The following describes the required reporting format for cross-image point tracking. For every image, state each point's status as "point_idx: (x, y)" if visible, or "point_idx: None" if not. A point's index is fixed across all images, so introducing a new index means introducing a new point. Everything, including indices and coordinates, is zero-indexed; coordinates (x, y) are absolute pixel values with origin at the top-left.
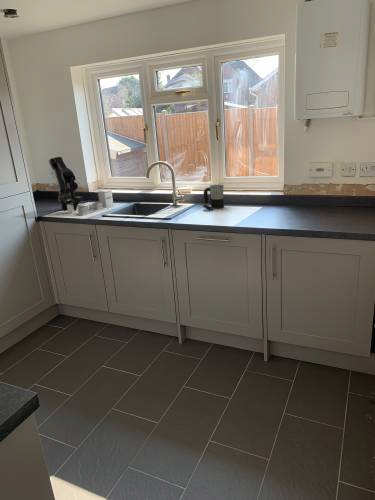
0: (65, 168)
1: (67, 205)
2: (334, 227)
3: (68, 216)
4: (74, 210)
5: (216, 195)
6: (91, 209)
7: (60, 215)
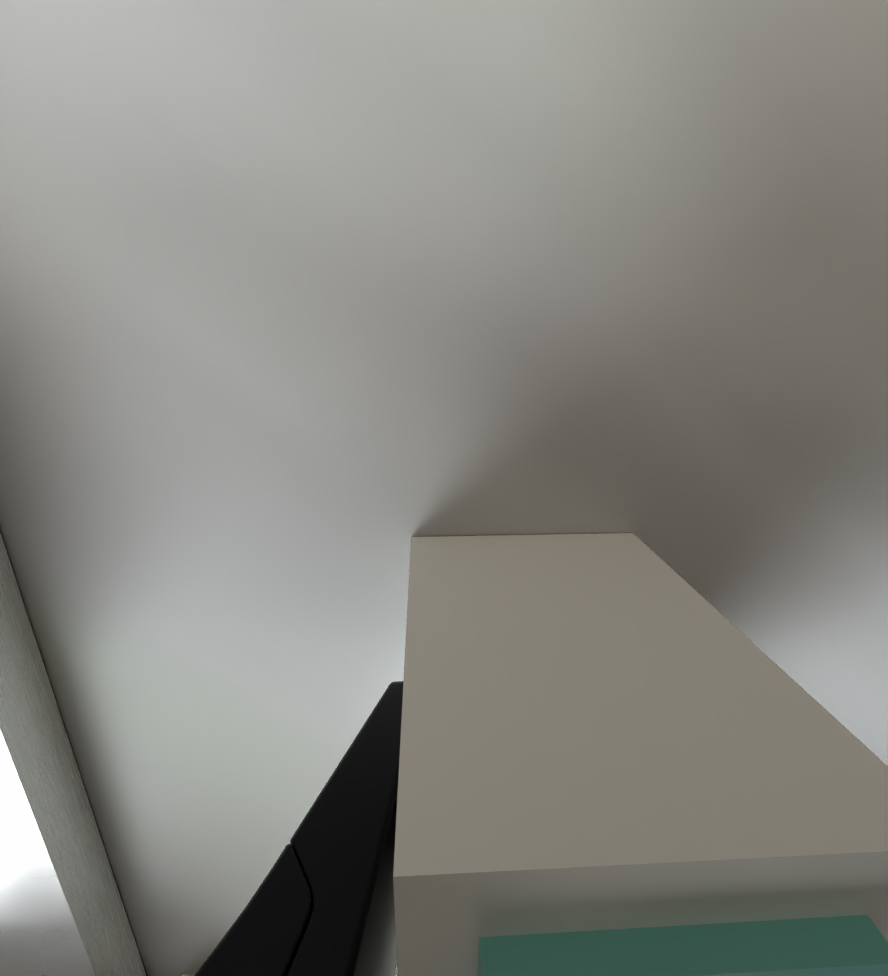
0: None
1: (850, 793)
2: None
3: (35, 6)
4: None
5: None
6: (35, 959)
7: (651, 71)
